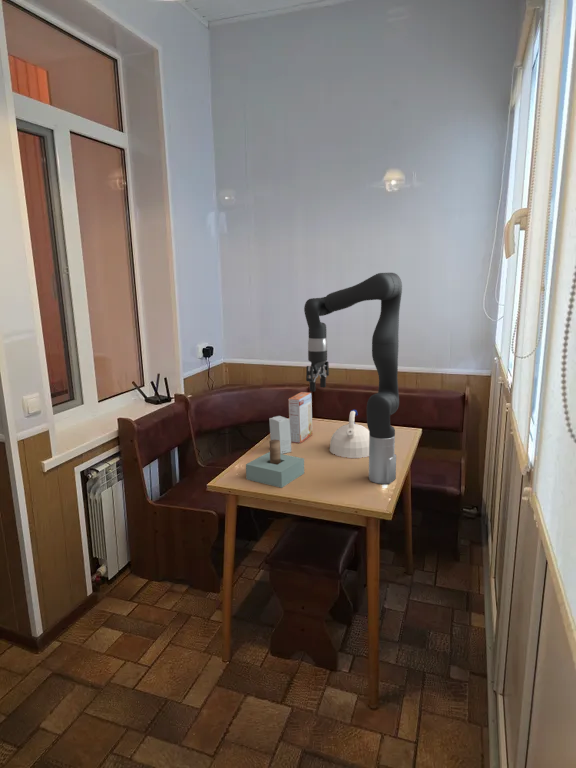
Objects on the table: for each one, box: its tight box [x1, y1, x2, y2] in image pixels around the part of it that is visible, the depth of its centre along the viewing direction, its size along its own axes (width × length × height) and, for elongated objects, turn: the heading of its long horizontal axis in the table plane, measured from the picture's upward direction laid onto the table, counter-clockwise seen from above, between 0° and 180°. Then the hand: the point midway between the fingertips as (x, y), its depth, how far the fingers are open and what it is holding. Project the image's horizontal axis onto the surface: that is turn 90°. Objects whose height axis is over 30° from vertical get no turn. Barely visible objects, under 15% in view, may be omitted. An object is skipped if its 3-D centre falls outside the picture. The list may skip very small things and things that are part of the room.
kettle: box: [329, 409, 369, 459], centre depth 222 cm, size 20×21×18 cm
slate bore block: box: [245, 451, 305, 489], centre depth 196 cm, size 16×16×6 cm
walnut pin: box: [268, 439, 281, 465], centre depth 196 cm, size 4×4×13 cm
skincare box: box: [268, 415, 292, 455], centre depth 223 cm, size 8×6×15 cm
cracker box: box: [288, 391, 313, 444], centre depth 239 cm, size 14×6×21 cm, turn 154°
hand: (317, 389), depth 206 cm, fingers open, 8 cm apart
